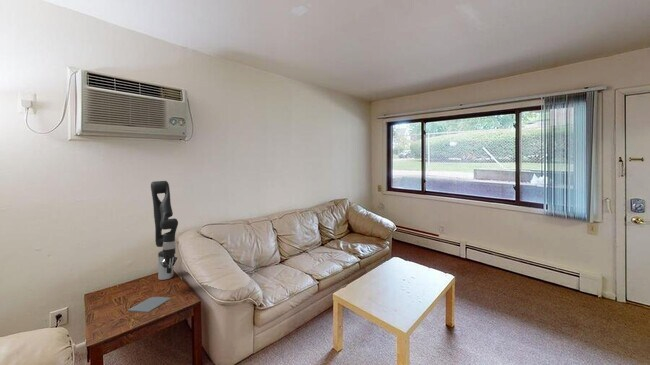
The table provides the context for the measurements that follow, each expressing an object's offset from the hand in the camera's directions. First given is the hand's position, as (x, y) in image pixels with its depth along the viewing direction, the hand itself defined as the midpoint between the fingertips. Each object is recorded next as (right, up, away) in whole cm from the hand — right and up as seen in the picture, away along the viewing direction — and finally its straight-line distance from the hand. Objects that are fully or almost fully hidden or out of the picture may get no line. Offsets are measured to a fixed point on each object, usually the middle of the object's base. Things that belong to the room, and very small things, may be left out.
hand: (169, 273), depth 173 cm
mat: (-2, -14, -15) cm, 21 cm away
